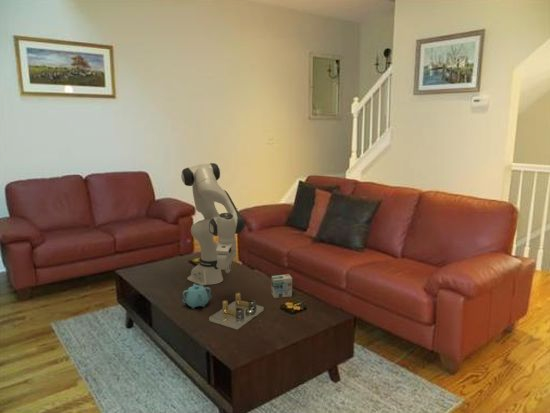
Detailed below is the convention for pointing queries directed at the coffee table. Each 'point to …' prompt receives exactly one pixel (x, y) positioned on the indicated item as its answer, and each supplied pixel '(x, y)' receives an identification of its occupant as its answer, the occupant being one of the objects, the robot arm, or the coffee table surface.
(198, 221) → the robot arm
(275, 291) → the light bulb box
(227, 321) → the plate
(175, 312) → the coffee table surface
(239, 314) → the knob
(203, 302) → the teapot
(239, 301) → the knob
